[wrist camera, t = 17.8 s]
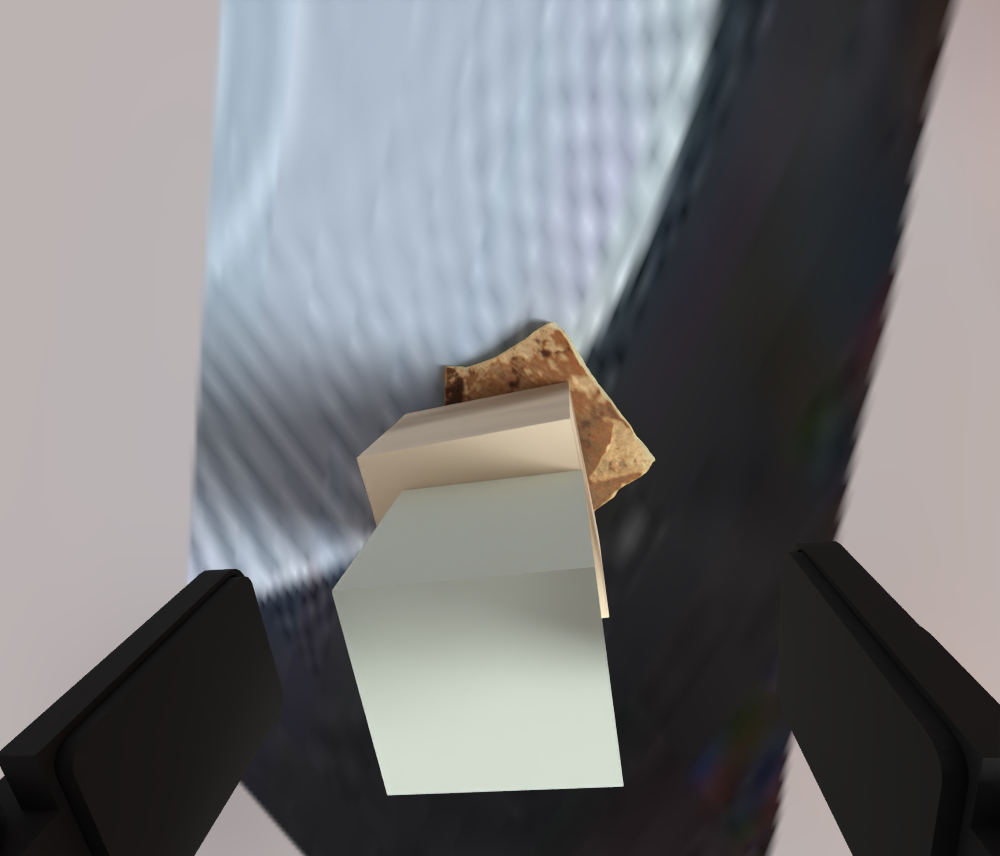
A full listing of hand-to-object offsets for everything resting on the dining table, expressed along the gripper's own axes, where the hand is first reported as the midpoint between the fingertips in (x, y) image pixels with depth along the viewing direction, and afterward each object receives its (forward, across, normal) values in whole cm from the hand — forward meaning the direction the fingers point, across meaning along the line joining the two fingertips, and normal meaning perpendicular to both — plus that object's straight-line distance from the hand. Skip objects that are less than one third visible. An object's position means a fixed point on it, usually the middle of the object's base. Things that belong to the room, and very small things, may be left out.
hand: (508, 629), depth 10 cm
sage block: (+6, +1, +2) cm, 6 cm away
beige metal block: (+11, +1, +1) cm, 11 cm away
